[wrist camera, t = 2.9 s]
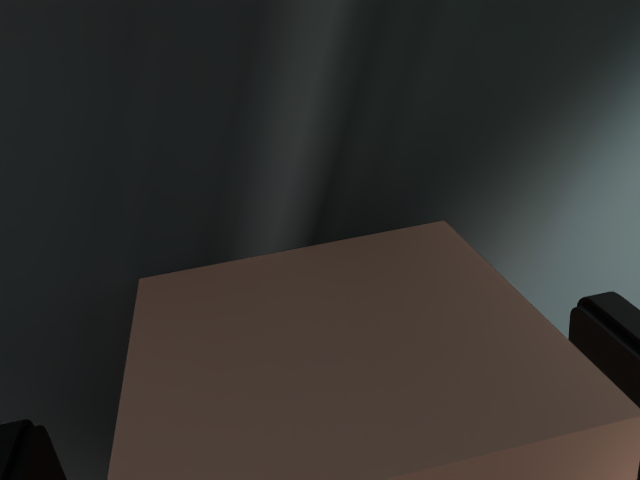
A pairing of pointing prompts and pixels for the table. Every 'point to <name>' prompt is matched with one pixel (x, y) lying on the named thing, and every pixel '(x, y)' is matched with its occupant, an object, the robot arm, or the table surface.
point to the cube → (361, 373)
